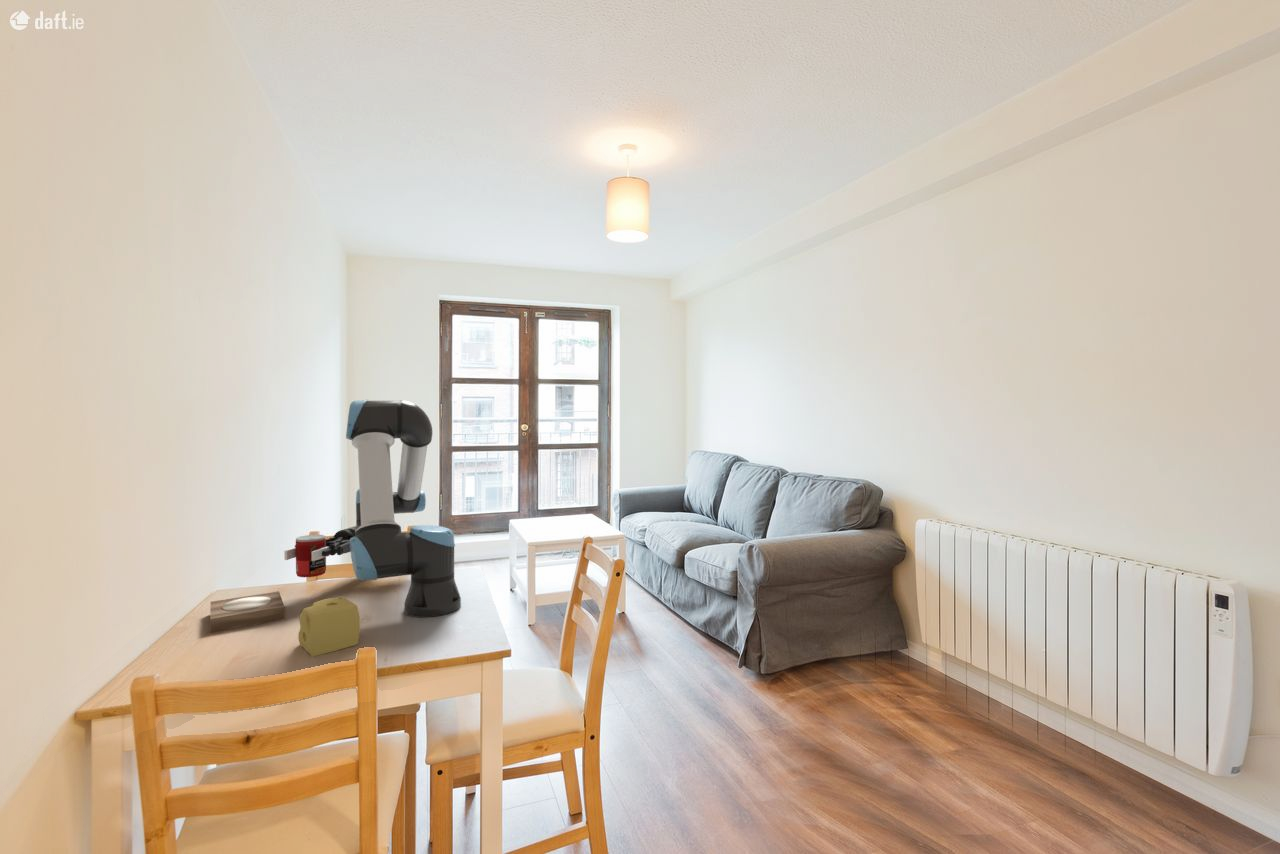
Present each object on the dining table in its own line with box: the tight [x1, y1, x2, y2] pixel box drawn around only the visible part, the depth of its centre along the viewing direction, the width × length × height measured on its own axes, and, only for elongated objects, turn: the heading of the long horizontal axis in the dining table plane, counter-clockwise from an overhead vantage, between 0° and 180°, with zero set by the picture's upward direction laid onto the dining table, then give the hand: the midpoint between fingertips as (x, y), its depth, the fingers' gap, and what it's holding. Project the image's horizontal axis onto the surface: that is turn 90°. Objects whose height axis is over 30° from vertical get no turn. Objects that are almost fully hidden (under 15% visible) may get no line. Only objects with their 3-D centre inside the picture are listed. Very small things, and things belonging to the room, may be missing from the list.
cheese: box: [297, 595, 361, 658], centre depth 139 cm, size 10×11×10 cm
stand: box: [209, 591, 286, 633], centre depth 158 cm, size 16×16×4 cm
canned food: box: [295, 534, 327, 578], centre depth 172 cm, size 8×8×11 cm
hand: (299, 555), depth 167 cm, fingers closed on canned food, 8 cm apart
